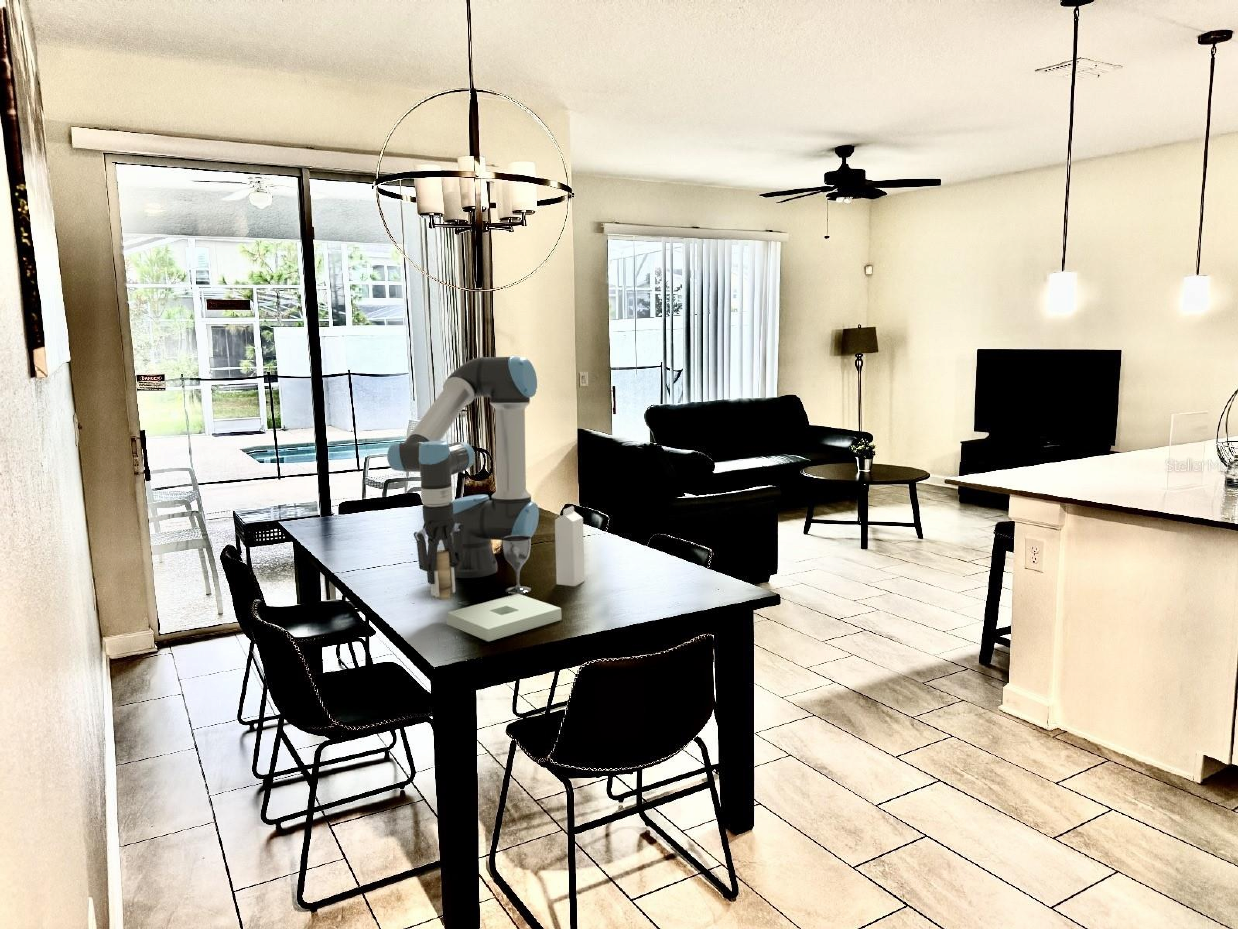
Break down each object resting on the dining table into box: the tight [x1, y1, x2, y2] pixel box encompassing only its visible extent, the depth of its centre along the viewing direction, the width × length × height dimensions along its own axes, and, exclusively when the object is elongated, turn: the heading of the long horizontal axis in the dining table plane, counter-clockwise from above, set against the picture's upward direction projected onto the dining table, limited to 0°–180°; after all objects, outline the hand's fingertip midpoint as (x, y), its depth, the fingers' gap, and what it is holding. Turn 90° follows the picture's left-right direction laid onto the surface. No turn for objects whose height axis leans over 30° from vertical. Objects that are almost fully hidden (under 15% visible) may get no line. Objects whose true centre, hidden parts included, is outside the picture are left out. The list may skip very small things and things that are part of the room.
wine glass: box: [501, 535, 532, 595], centre depth 245 cm, size 8×8×15 cm
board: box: [446, 594, 562, 642], centre depth 219 cm, size 18×22×3 cm
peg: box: [435, 549, 451, 601], centre depth 222 cm, size 4×4×12 cm
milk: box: [554, 505, 585, 587], centre depth 251 cm, size 6×6×22 cm
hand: (443, 593), depth 223 cm, fingers closed on peg, 4 cm apart
